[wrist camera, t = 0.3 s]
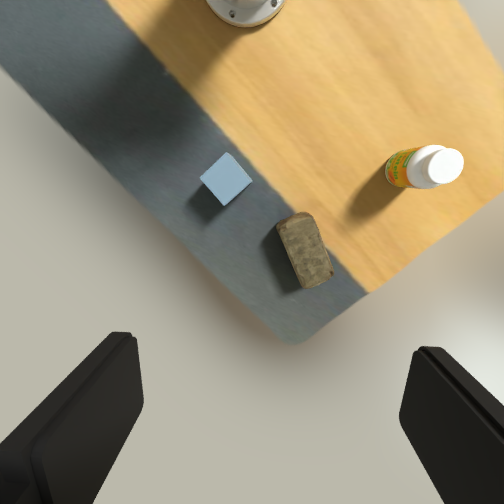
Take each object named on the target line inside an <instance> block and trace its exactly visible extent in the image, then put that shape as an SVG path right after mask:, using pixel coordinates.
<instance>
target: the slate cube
mask: <svg viewBox="0 0 504 504" xmlns="http://www.w3.org/2000/svg"><path fill="white" fill-rule="evenodd" d="M200 179H201V180H202V181H203V182H204V183H205V185H206V186H207V187H208V188H209V189H210V190H211V192H212V193H213V194H214V195H215V196H216V197H217V198H218V200H219V201H220V202H221V203H222V204H223V205H224V206H225V205H226V204H227V203H229V202H230V201H231V200H232V199H233V198H234V197H236V196H237V195H238V194H239V193H240V192H241V191H242V190H243V189H245V188H246V187H247V186H248V185H249V184H250V183H251V182H252V179H251V178H250V177H249V176H248V175H247V173H246V172H245V171H244V170H243V169H242V167H241V166H240V165H239V164H238V162H237V161H236V160H235V159H234V158H233V156H232V155H230V154H228V153H227V152H226V153H225V154H224V155H223V156H222V157H221V158H220V159H219V160H218V161H217V162H216V163H215V164H214V165H213V166H212V167H210V168H209V169H208V170H207V171H206V172H205V173H204V174H203V175H202V176H201V177H200Z"/></svg>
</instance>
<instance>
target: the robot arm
mask: <svg viewBox="0 0 504 504" xmlns="http://www.w3.org/2000/svg"><path fill="white" fill-rule="evenodd" d="M206 1H207V3H208V5H209V6H210V8H211V9H212V10H213V12H214V13H215V14H216V15H217V16H218V17H220V18H221V19H222V20H224V21H225V22H227V23H229V24H231V25H234V26H237V27H254V26H257V25H260V24H263V23H265V22H266V21H268V20H270V19H271V18H272V17H273V16H274V15H276V14H277V13H278V12H279V11H280V9H281V8H282V6H283V5H284V4H285V2H286V0H206ZM273 5H274V6H275V7H272V6H273ZM232 16H235V17H234V18H231V17H232ZM143 403H144V398H143V389H142V380H141V371H140V362H139V354H138V345H137V339H136V338H135V337H132V334H131V333H130V332H112V333H110V334H109V335H108V336H107V337H106V338H105V339H104V340H103V341H102V342H101V343H100V344H99V345H98V346H97V347H96V348H95V349H94V350H93V351H92V352H91V353H90V354H89V355H88V356H87V357H86V358H85V359H84V360H83V361H82V362H81V363H80V364H79V365H78V366H77V367H76V368H75V369H74V370H73V371H72V372H71V373H70V374H69V375H68V376H67V377H66V378H65V379H64V380H63V381H62V382H61V383H60V384H59V385H58V386H57V387H56V388H55V389H54V390H53V391H52V392H51V393H50V394H49V395H48V396H47V397H46V398H45V399H44V400H43V401H42V402H41V403H40V404H39V406H38V407H36V408H35V409H34V410H33V411H32V412H31V413H30V414H29V415H28V416H27V417H26V418H25V419H24V420H23V421H22V422H21V423H20V424H19V425H18V426H17V427H16V429H14V430H13V431H12V432H11V433H10V435H9V436H7V437H6V438H5V440H3V441H2V442H1V443H0V504H93V502H94V500H95V498H96V496H97V494H98V492H99V490H100V489H101V487H102V485H103V483H104V481H105V479H106V477H107V475H108V473H109V471H110V469H111V468H112V466H113V464H114V462H115V460H116V458H117V456H118V454H119V452H120V451H121V449H122V447H123V445H124V443H125V441H126V439H127V437H128V435H129V434H130V432H131V430H132V428H133V426H134V424H135V422H136V420H137V418H138V417H139V415H140V413H141V410H142V407H143ZM399 420H400V424H401V426H402V428H403V430H404V432H405V434H406V436H407V437H408V439H409V441H410V443H411V445H412V446H413V448H414V450H415V452H416V454H417V455H418V457H419V459H420V461H421V463H422V464H423V466H424V468H425V470H426V471H427V473H428V475H429V477H430V479H431V480H432V482H433V484H434V486H435V488H436V489H437V491H438V493H439V495H440V497H441V499H442V500H443V502H444V504H504V406H503V405H502V404H501V403H500V402H499V401H498V400H497V399H496V398H495V397H494V396H493V395H492V394H491V393H490V392H488V391H487V389H486V388H484V387H483V386H482V385H481V384H480V383H479V382H478V381H477V380H476V379H475V378H474V377H473V376H472V375H471V374H470V373H469V372H467V371H466V370H465V369H464V368H463V367H462V366H461V365H460V364H459V363H458V362H457V361H456V360H455V359H454V358H453V357H452V356H451V355H449V354H448V353H447V352H446V351H445V350H444V349H443V348H441V347H428V346H421V347H420V348H419V349H418V351H415V352H414V353H413V356H412V361H411V365H410V370H409V373H408V378H407V382H406V386H405V391H404V395H403V399H402V404H401V408H400V412H399Z"/></svg>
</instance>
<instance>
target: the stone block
mask: <svg viewBox="0 0 504 504" xmlns="http://www.w3.org/2000/svg"><path fill="white" fill-rule="evenodd" d="M276 229H277V231H278V233H279V235H280V237H281V240H282V242H283V244H284V246H285V248H286V251H287V254H288V256H289V259H290V261H291V263H292V266H293V268H294V270H295V273H296V275H297V277H298V279H299V282H300V284H301V286H302V287H303V288H305V289H308V288H312V287H314V286H317V285H319V284H321V283H323V282H325V281H327V280H329V279H330V277H332V276H333V275H334V270H333V267H332V264H331V262H330V259H329V256H328V254H327V251H326V249H325V247H324V244H323V241H322V238H321V235H320V232H319V229H318V227H317V225H316V222H315V220H314V218H313V216H312V215H310V214H309V213H307V212H300V213H297V214H295V215H292V216H290V217H288V218H286V219H284V220H281V221H280V222H279V223H278V224H277V226H276Z"/></svg>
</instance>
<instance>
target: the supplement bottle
mask: <svg viewBox="0 0 504 504" xmlns="http://www.w3.org/2000/svg"><path fill="white" fill-rule="evenodd" d="M462 169H463V157H462V155H461V154H460V153H459V152H458V151H457V150H455V149H450V148H448V149H446V148H445V147H443V146H440V145H428V146H423V147H417V148H412V149H406V150H402V151H399V152H397V153H395V154H394V155H393V156H392V157H391V158H390V159H389V161H388V162H387V165H386V168H385V174H386V178H387V180H388V181H389V182H390V183H391V184H392V185H394V186H397V187H406V188H418V189H431V188H434V187H437V186H439V185H441V184H446V183H449V182H451V181H453V180H454V179H456V178H457V177H458V176H459V174H460V173H461V171H462Z"/></svg>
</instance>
